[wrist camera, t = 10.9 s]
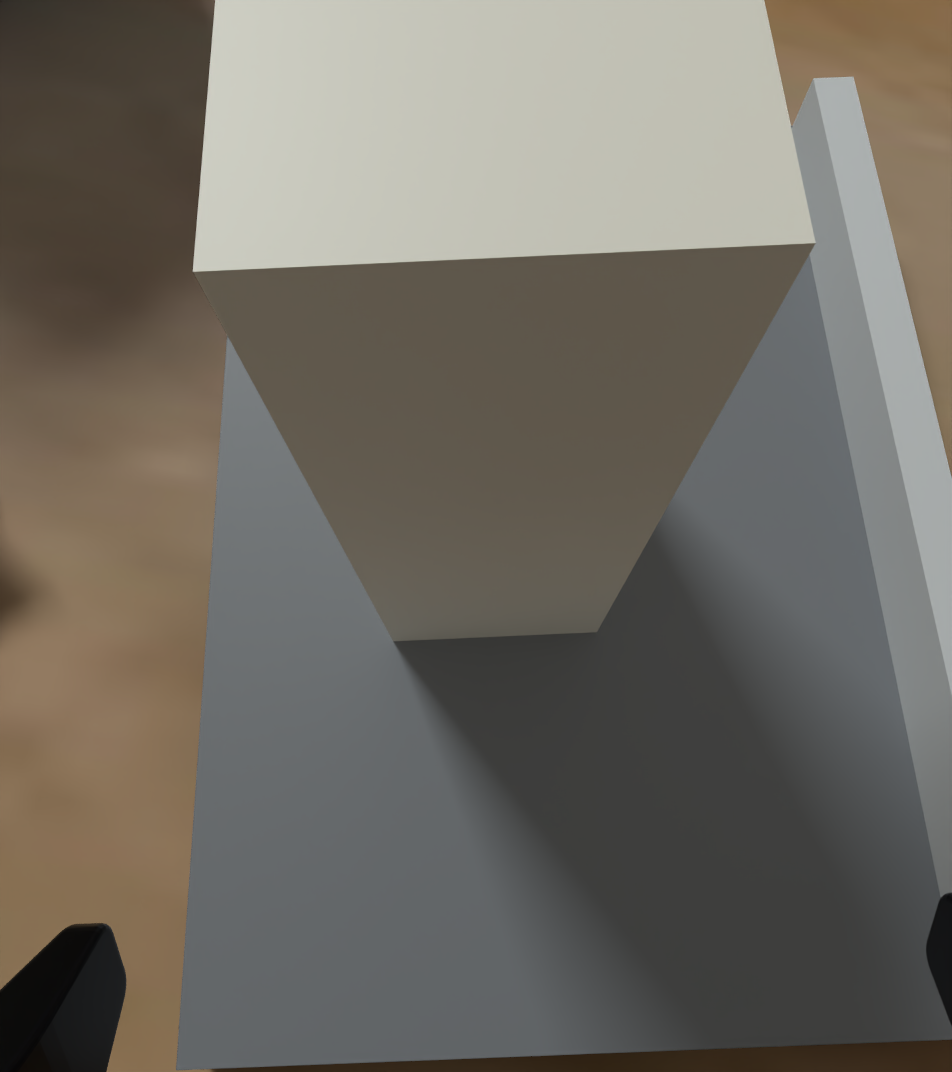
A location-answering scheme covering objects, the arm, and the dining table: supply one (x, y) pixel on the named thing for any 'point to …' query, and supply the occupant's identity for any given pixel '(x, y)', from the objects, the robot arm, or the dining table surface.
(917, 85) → the dining table surface
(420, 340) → the tea box
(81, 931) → the robot arm
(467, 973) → the shelf board
